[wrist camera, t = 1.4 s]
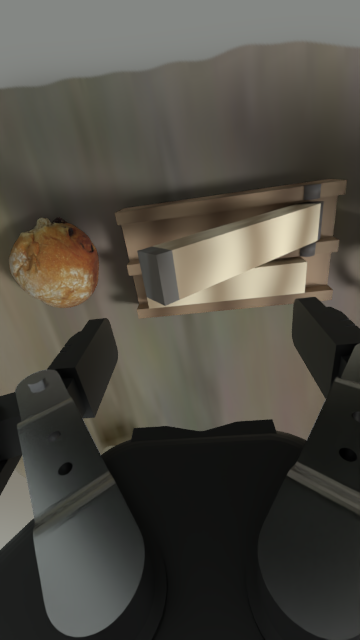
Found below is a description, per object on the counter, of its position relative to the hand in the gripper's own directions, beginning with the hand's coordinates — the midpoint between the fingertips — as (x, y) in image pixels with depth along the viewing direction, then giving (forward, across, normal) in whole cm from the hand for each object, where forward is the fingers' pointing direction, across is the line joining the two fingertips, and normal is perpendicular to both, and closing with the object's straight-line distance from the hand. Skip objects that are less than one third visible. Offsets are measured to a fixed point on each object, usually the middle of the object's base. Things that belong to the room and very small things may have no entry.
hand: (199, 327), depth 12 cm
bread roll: (+23, +17, +1) cm, 29 cm away
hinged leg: (+14, -4, 0) cm, 15 cm away
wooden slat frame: (+22, -3, +2) cm, 23 cm away
